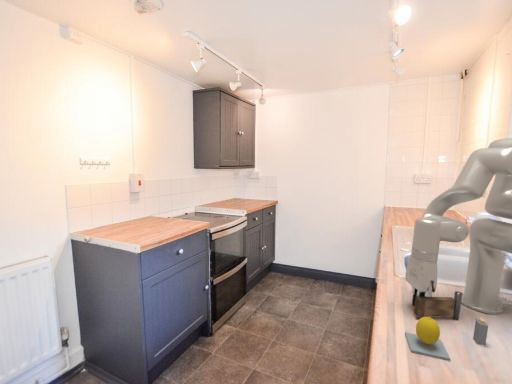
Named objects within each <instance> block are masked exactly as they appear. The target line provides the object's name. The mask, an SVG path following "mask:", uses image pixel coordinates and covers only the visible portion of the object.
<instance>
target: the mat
mask: <svg viewBox="0 0 512 384" xmlns="http://www.w3.org/2000/svg"><path fill="white" fill-rule="evenodd" d="M404 336H405V338H406V342H407V345H408V348H409V351H410V353H413V354H417V355H418V354H419V355H424V356H427V357H432V358H436V359H440V360H444V361H449V362H450V361H451V357H450V355H449V353H448V351H447V349H446V347H445V346H444V343H443V342H442V340H441V339H440V338H439V339H438V341H437V342H436V343H434V344H427V345H426V344H425V343H424V342H422V341H421V340H420V339H419V338H418V336H417V334H416V333H410V332H406V331H405V332H404Z"/></svg>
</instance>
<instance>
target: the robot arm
mask: <svg viewBox="0 0 512 384" xmlns="http://www.w3.org/2000/svg"><path fill="white" fill-rule="evenodd" d="M493 178H494V180H493ZM492 180H493V183H492V185H491V188H490V190H489V193H488V194H487V195H488V196H487V198H486V200H485V203H484V210H485V212H486V213H488V214H489V215H492V216H493V217H496V218H497V217H498V218H501V219H502V218H503V219H507V220H512V137H510V138H509V137H508V138H507V137H506V138H500V139H496V140H493V141H492V142H490V143H489V145H488V147H485V148H484V147H483V148H477V149H475V150H474V151H472V153H470V155H469V157H468V159H466V162H465V163H464V166H463V167H462V169H461V171H460V173H459V175H458V176H457V179H456V180H455V182H454V183H453V185H452V186H451V187H450V188H448V189H446V190H445V191H443V192H441V193H440V194H439V195H438V196H436V197H435V198H434V199H432V200H431V201H430V203H429V204H428V206H426V208H425V210H424V212H423V214H422V215H421V217H417V218H415V221H414V228H413V233H412V234H413V235H412V236H413V237H412V242H411V243H412V244H411V252H410V255H409V258H408V260H407V265H406V269H405V270H406V272H405V278H404V279H405V281H406V282H407V283H408V284H409V285H410V286H411V289H412V294H413V295H412V299H411V300H412V303H411V305H412V307H413V308H415V299H416V296H422V297H429V298H432V297H433V293H436V290H437V285H438V284H437V283H438V259H439V252H440V251H439V250H440V243H441V242H445V243H446V242H447V243H460V242H464V241H465V240H466V239H467V238H468V236H469V256H468V262H467V263H468V264H467V270H466V278H465V284H464V292H463V293H462V300H461V305H464V306H466V307H467V308H469V309H472V310H474V311H477V312H481V313H484V314H491V315H499V314H502V313H503V312H504V306H507V307H512V300H508V299H507V298H506V297H500V292H501V291H500V290H501V286H502V281H503V280H502V279H503V273H504V266H505V259H504V255H503V252H505V253H508V254H512V223H511V222H506V221H501V220H497V219H492V218H479V219H476V220H474V221H473V222H471V223H470V225H469V227H468V225H467V224H466V223H465V222H463V221H461V220H458V219H456V218H451V217H447V216H444V215H445V213H446V212H447V211H448V210H449V209H451V208H452V207H455V206H456V205H460V204H463V203H467V202H471V201H476V200H478V199H481V198H482V197H483V195H484V194H485V192H486V190H487V189H488V187H489V185H490V183H491V181H492Z"/></svg>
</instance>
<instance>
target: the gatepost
mask: <svg viewBox="0 0 512 384" xmlns="http://www.w3.org/2000/svg"><path fill="white" fill-rule="evenodd" d="M462 294H463V293H462V292H461V291H458V290H455V291H454V296H453V299H455V300H456V302H455V307H454V315H453V317H450V318H451V319H452V320H454V321H459V320H460V313H461V307H462V303H461V300H462Z"/></svg>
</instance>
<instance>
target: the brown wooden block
mask: <svg viewBox="0 0 512 384" xmlns="http://www.w3.org/2000/svg"><path fill="white" fill-rule="evenodd" d="M455 302H456V300H455V299H454V297H450V296H446V297H445V296H432V298H429V297H422V296H416V299H415V307H413V308H414V309H413V314H414V315H415V316H416V317H418V318H422V317H431V318H451V317H453V315H454V307H455Z"/></svg>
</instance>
